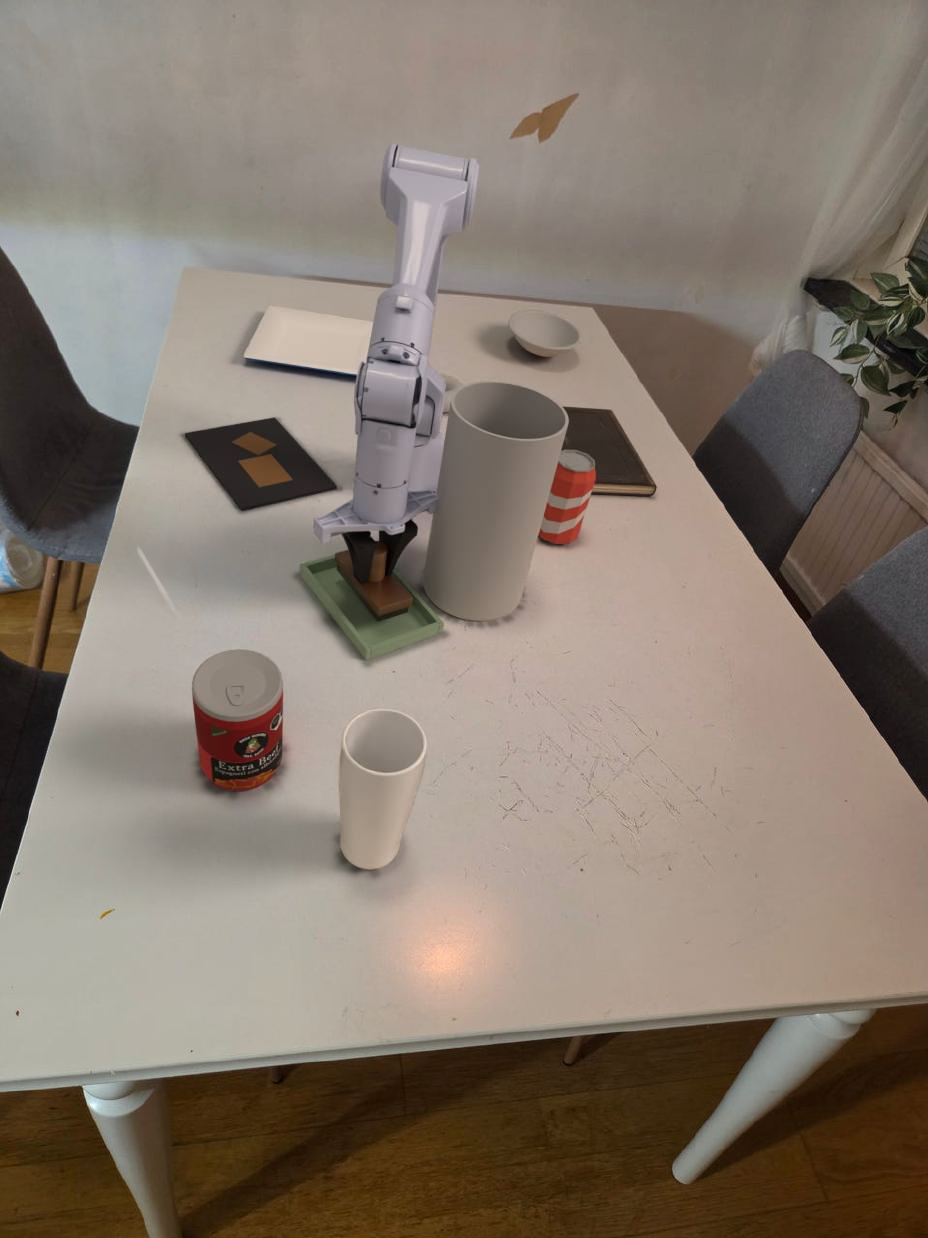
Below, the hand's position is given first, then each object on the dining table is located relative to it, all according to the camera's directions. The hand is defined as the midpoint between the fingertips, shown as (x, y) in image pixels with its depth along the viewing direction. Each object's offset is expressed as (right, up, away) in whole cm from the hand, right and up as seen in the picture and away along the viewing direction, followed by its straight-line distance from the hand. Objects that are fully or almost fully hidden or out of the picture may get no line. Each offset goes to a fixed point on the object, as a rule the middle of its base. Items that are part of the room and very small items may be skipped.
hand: (372, 573), depth 92 cm
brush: (0, -2, +2) cm, 3 cm away
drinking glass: (+2, -26, -20) cm, 33 cm away
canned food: (-11, -19, -15) cm, 27 cm away
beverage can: (+23, +7, +20) cm, 31 cm away
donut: (+6, +32, +44) cm, 54 cm away
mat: (-19, +17, +22) cm, 33 cm away
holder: (-1, -4, +3) cm, 5 cm away
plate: (-15, +43, +51) cm, 68 cm away
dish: (+25, +47, +65) cm, 84 cm away
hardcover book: (+30, +21, +38) cm, 53 cm away
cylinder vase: (+11, -2, +8) cm, 14 cm away
